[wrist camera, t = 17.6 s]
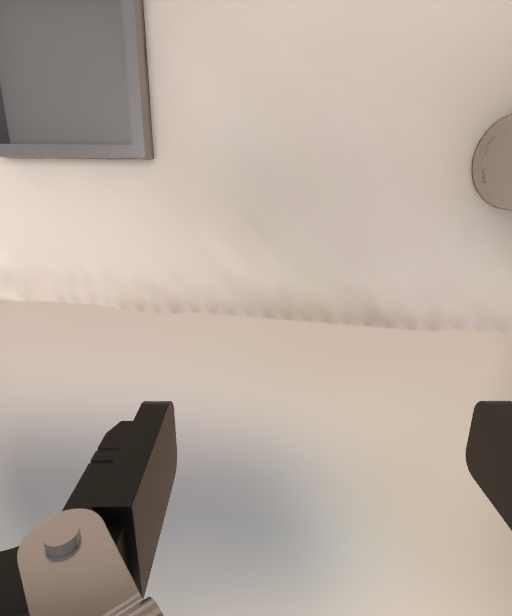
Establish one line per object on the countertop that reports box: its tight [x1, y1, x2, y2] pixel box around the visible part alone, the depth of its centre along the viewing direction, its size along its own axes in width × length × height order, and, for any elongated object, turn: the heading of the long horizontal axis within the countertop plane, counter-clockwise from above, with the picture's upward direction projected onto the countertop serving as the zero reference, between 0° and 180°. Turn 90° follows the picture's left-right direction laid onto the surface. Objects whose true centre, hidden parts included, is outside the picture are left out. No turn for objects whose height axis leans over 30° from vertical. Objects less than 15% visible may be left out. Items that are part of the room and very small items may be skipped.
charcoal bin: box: [0, 0, 154, 159], centre depth 35 cm, size 14×14×4 cm
